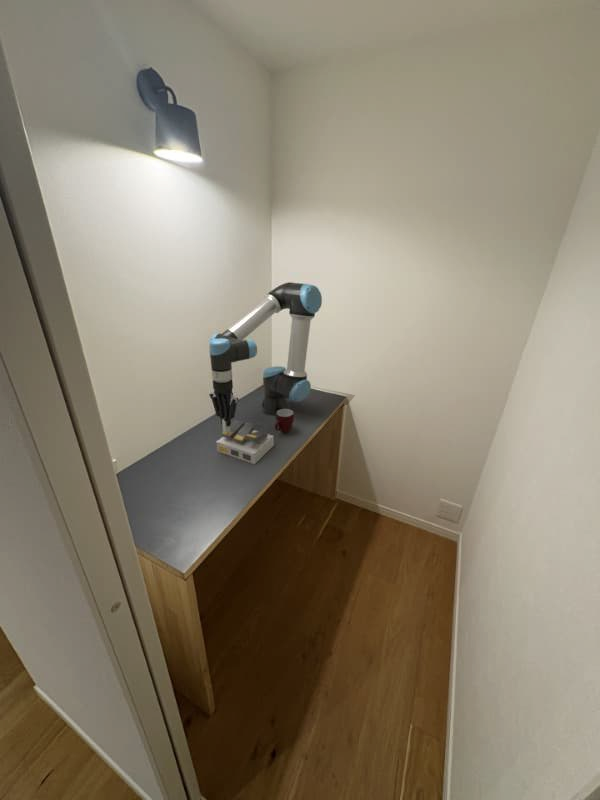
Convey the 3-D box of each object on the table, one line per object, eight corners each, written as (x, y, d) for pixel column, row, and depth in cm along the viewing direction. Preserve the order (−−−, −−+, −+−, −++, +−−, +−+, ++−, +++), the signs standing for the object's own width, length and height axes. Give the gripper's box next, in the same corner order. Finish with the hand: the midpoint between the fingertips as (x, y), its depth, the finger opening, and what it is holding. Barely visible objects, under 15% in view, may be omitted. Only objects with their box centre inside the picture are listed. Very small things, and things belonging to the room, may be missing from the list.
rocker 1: (236, 422, 140) (235, 419, 139) (244, 424, 138) (243, 421, 137) (222, 436, 133) (221, 433, 132) (230, 439, 131) (229, 435, 130)
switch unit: (238, 434, 146) (237, 421, 143) (273, 445, 138) (273, 432, 135) (217, 451, 134) (215, 438, 131) (253, 464, 126) (252, 450, 123)
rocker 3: (258, 434, 136) (259, 430, 135) (267, 437, 134) (267, 432, 134) (244, 439, 127) (245, 434, 126) (254, 442, 125) (254, 437, 125)
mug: (284, 440, 142) (284, 421, 138) (270, 435, 146) (269, 416, 142) (296, 429, 150) (296, 411, 146) (282, 425, 154) (282, 407, 150)
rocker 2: (247, 424, 137) (246, 421, 136) (255, 426, 135) (254, 423, 134) (234, 441, 131) (233, 438, 130) (243, 443, 129) (241, 441, 128)
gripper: (202, 379, 121) (208, 432, 131) (229, 385, 116) (233, 440, 126) (215, 373, 127) (220, 424, 137) (242, 379, 122) (244, 432, 132)
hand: (226, 432), depth 131 cm, fingers closed
